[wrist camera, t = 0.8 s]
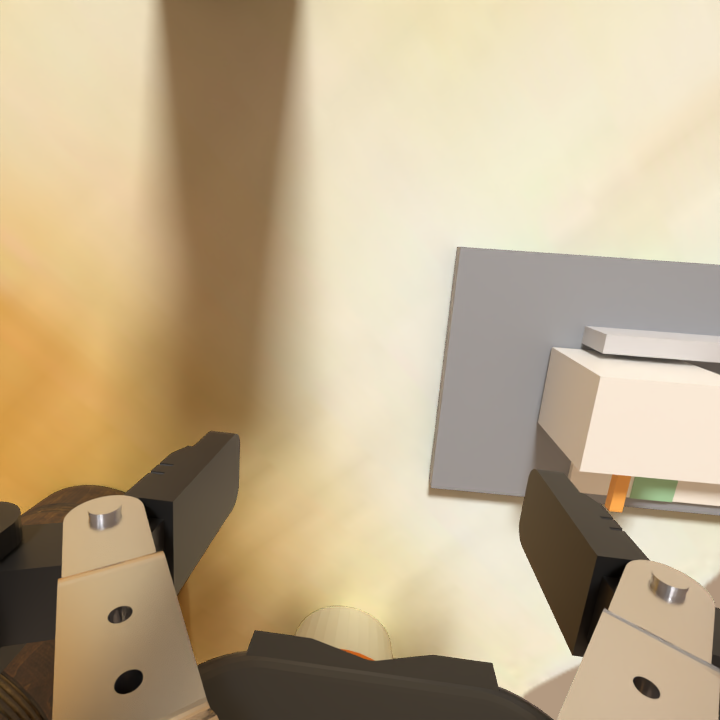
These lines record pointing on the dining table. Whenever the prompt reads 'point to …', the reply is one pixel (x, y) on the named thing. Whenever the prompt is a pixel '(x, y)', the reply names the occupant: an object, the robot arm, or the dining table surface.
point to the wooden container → (36, 660)
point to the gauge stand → (532, 355)
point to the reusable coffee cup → (348, 632)
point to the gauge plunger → (633, 417)
